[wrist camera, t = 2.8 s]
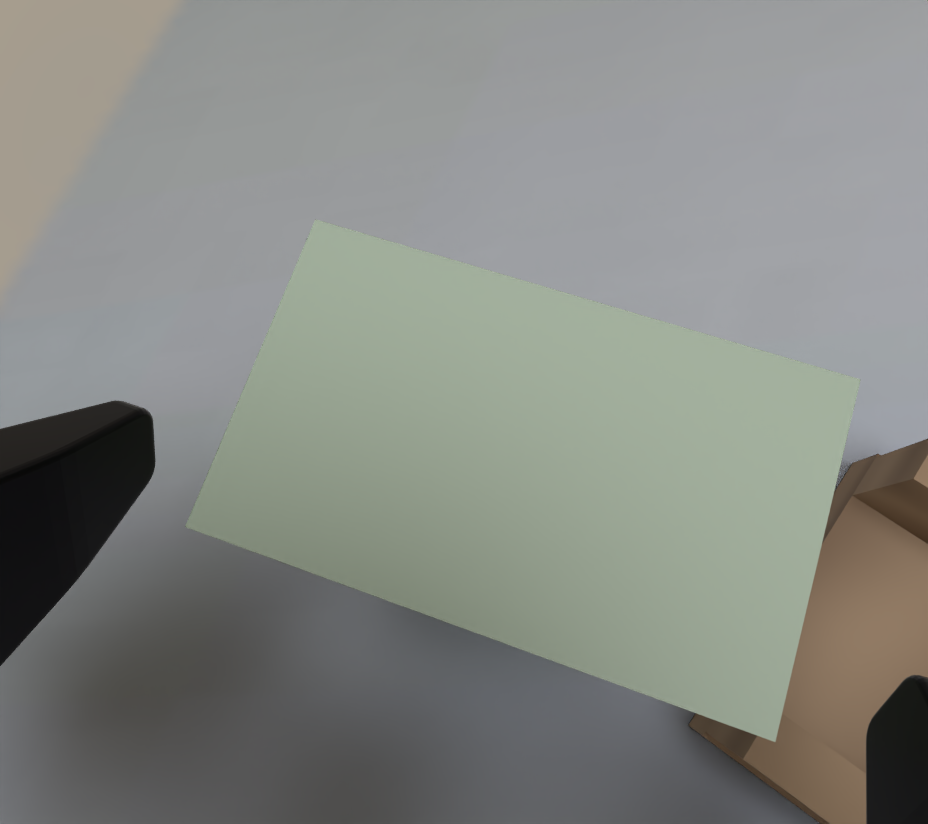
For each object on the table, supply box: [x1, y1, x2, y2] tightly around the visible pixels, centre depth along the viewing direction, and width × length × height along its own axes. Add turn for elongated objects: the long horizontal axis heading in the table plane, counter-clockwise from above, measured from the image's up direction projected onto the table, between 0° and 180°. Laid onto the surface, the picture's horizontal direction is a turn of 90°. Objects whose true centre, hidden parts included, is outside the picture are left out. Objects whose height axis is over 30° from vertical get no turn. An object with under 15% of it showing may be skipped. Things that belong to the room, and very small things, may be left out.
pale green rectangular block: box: [185, 219, 860, 742], centre depth 11 cm, size 3×5×11 cm, turn 71°
